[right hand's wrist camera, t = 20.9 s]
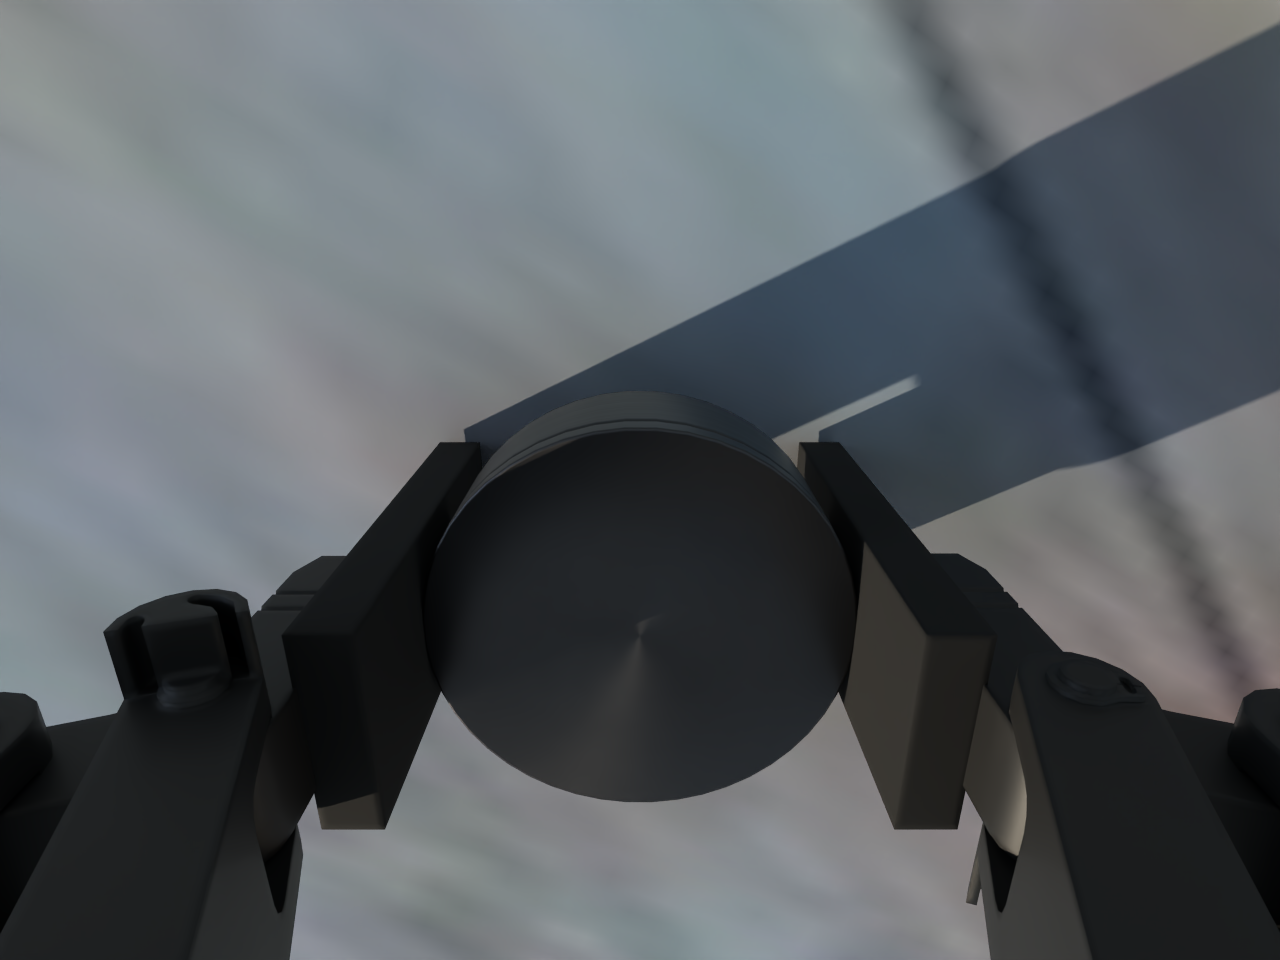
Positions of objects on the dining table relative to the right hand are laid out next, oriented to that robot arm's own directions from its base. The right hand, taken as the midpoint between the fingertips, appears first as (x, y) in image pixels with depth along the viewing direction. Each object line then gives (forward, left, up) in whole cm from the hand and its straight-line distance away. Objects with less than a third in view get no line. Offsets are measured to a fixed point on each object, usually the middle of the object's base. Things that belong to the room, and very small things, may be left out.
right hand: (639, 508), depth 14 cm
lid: (0, 0, +4) cm, 4 cm away
